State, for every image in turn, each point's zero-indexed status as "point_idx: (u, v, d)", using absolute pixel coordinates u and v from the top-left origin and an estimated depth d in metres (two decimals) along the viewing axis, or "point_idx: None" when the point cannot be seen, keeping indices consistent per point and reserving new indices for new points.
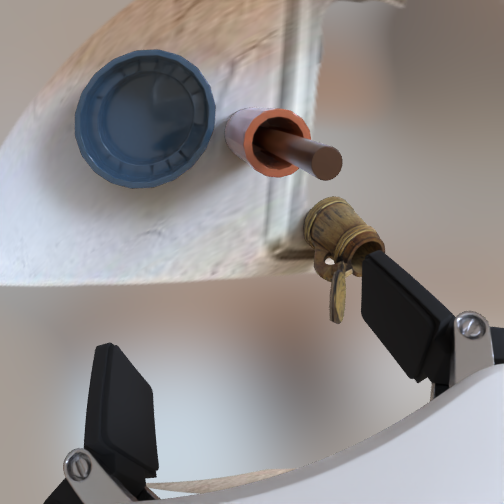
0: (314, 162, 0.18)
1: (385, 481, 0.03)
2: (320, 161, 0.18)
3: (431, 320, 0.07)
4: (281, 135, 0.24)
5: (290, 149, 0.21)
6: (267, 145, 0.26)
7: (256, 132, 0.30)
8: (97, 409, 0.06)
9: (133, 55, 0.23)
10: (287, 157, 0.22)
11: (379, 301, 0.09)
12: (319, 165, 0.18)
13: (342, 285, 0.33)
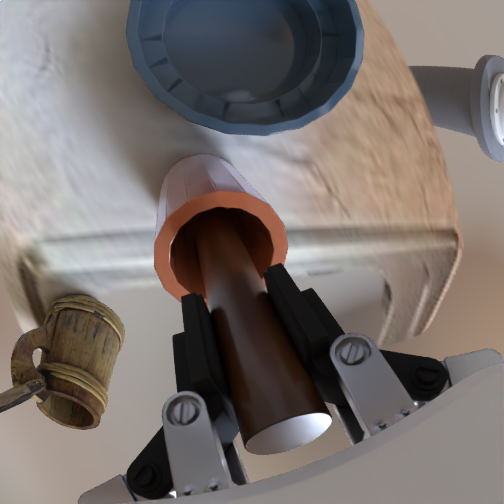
0: (298, 419, 0.06)
1: (385, 481, 0.03)
2: (297, 426, 0.06)
3: (305, 339, 0.07)
4: (254, 267, 0.13)
5: (263, 312, 0.09)
6: (218, 237, 0.14)
7: (221, 207, 0.18)
8: (200, 348, 0.08)
9: (358, 27, 0.14)
10: (234, 305, 0.09)
11: None
12: (287, 428, 0.06)
13: None
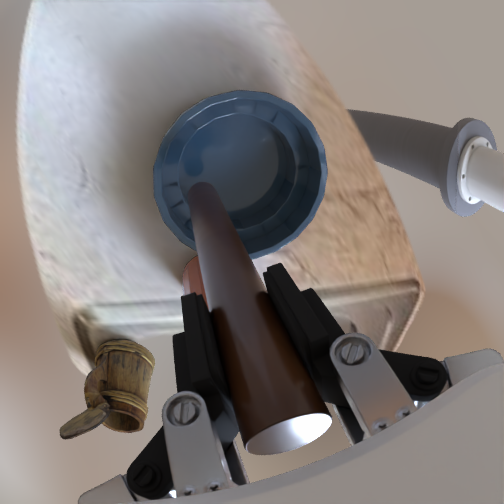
0: (298, 420, 0.06)
1: (385, 481, 0.03)
2: (297, 427, 0.06)
3: (305, 339, 0.07)
4: (254, 267, 0.13)
5: (263, 313, 0.09)
6: (218, 237, 0.14)
7: (221, 207, 0.18)
8: (200, 348, 0.08)
9: (323, 169, 0.25)
10: (234, 305, 0.09)
11: None
12: (287, 429, 0.06)
13: None
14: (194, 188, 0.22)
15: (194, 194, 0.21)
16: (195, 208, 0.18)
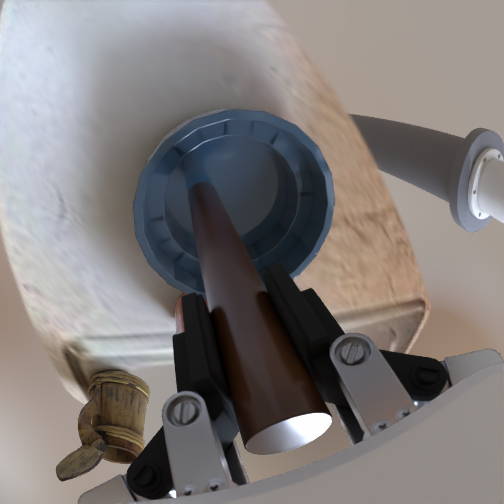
0: (298, 419, 0.06)
1: (385, 481, 0.03)
2: (297, 426, 0.06)
3: (305, 339, 0.07)
4: (254, 267, 0.13)
5: (263, 312, 0.09)
6: (218, 237, 0.14)
7: (221, 207, 0.18)
8: (200, 348, 0.08)
9: (329, 199, 0.22)
10: (234, 304, 0.09)
11: None
12: (287, 428, 0.06)
13: None
14: (194, 188, 0.22)
15: (194, 194, 0.21)
16: (195, 208, 0.18)
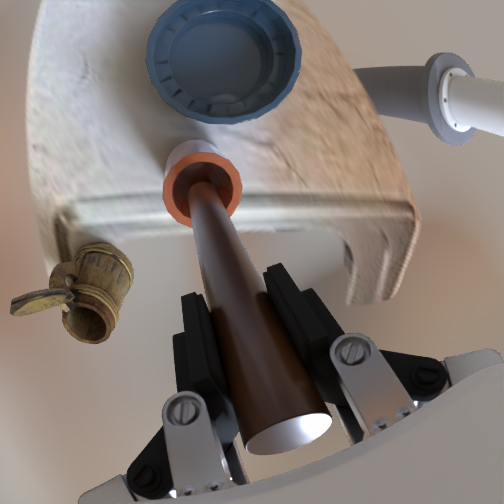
0: (298, 419, 0.06)
1: (385, 481, 0.03)
2: (297, 427, 0.06)
3: (305, 339, 0.07)
4: (254, 267, 0.13)
5: (263, 313, 0.09)
6: (218, 237, 0.14)
7: (221, 207, 0.18)
8: (200, 348, 0.08)
9: (297, 48, 0.24)
10: (234, 305, 0.09)
11: None
12: (287, 429, 0.06)
13: (50, 303, 0.22)
14: (194, 188, 0.22)
15: (194, 194, 0.21)
16: (195, 208, 0.18)
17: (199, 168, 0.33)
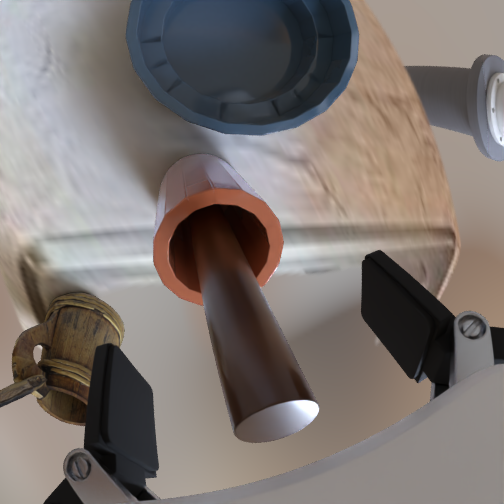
0: (284, 406, 0.06)
1: (385, 481, 0.03)
2: (285, 413, 0.06)
3: (431, 320, 0.07)
4: (247, 263, 0.13)
5: (254, 305, 0.09)
6: (213, 234, 0.14)
7: (216, 205, 0.18)
8: (97, 409, 0.06)
9: (353, 29, 0.15)
10: (226, 298, 0.10)
11: (379, 301, 0.09)
12: (274, 415, 0.06)
13: None
14: None
15: None
16: None
17: None
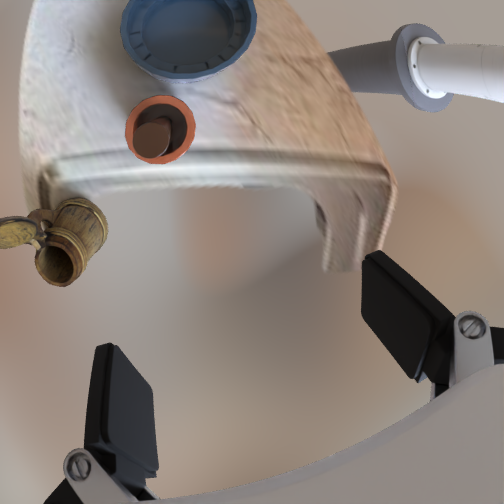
0: (151, 125, 0.16)
1: (385, 481, 0.03)
2: (152, 132, 0.16)
3: (431, 320, 0.07)
4: (168, 124, 0.23)
5: (158, 120, 0.19)
6: None
7: (166, 118, 0.28)
8: (97, 409, 0.06)
9: (252, 13, 0.25)
10: None
11: (379, 301, 0.09)
12: (148, 131, 0.16)
13: (23, 236, 0.22)
14: None
15: None
16: None
17: None
